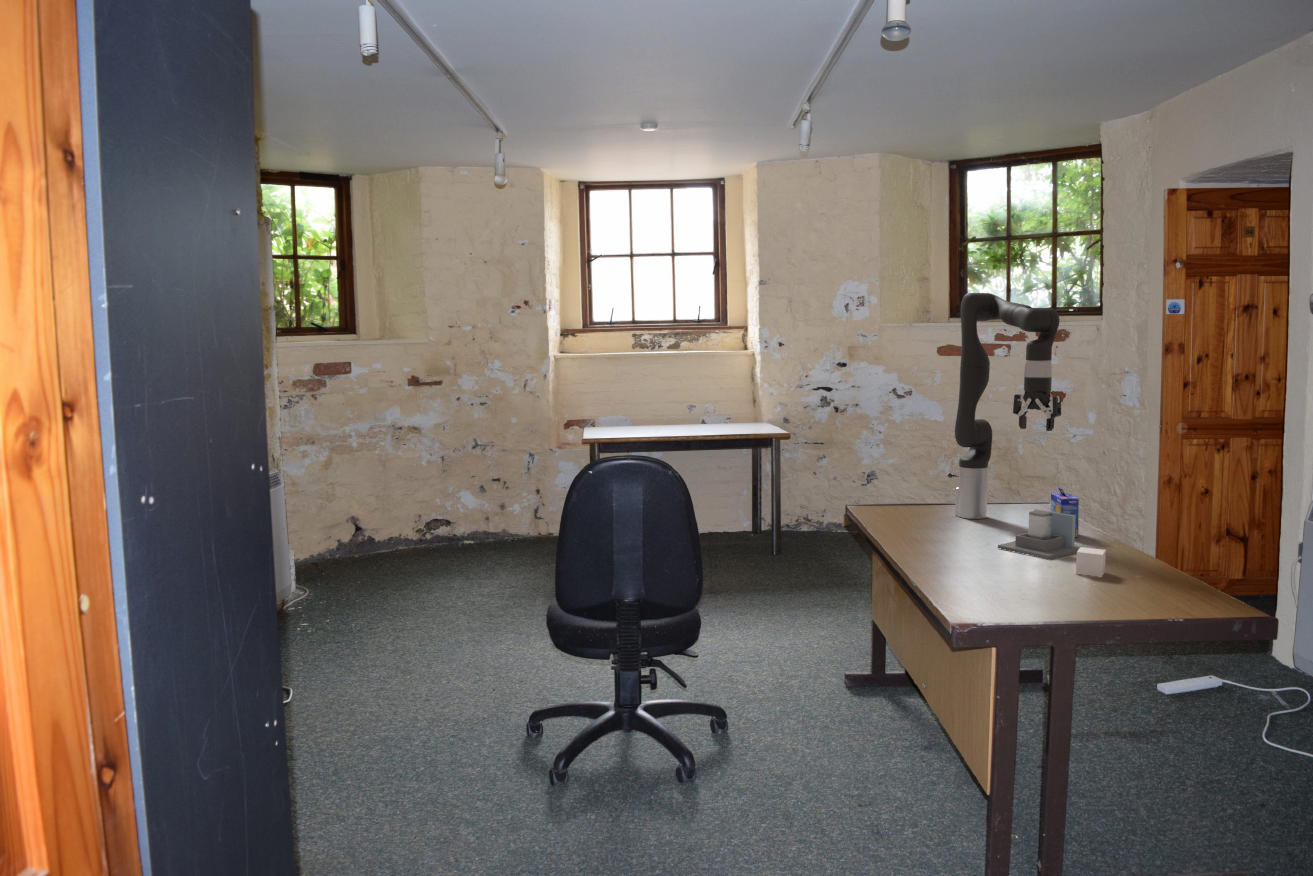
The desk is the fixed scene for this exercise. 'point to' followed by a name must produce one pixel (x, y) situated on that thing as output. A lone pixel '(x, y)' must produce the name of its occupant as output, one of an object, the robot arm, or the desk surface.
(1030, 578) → the desk surface
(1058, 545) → the dock
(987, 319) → the robot arm
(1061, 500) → the ink cartridge box
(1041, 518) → the tall gray block
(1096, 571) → the white cube
